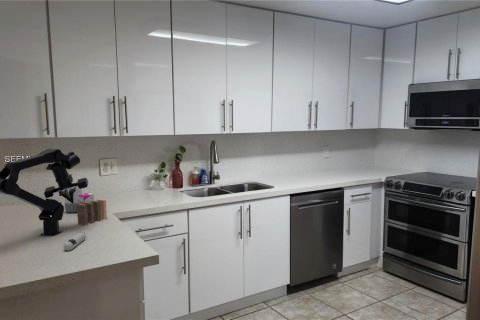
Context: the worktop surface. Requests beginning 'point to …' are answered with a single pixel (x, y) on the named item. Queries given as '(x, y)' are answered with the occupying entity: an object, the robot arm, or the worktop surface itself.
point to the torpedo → (74, 241)
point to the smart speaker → (73, 206)
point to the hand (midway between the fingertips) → (72, 202)
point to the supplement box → (86, 198)
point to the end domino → (103, 208)
